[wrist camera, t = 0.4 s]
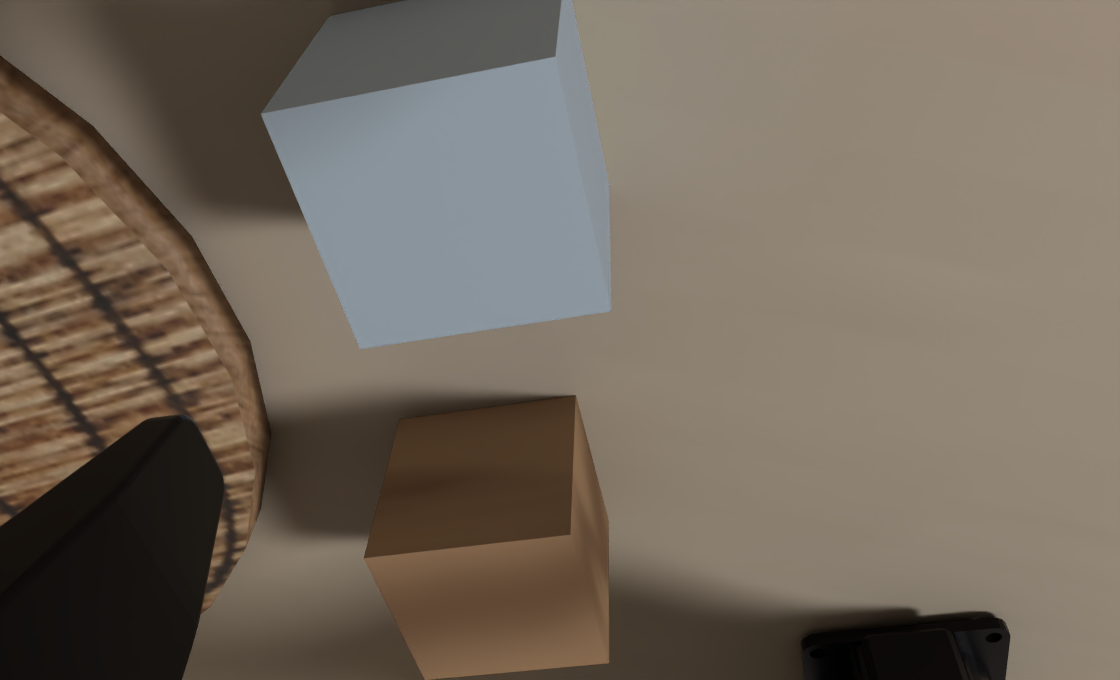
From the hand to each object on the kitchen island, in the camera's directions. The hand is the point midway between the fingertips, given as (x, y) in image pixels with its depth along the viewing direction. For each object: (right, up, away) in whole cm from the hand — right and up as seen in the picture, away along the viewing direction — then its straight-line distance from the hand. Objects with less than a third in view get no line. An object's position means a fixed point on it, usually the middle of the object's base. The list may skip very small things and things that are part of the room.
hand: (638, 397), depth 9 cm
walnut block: (-2, -3, +18) cm, 19 cm away
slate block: (-3, +6, +12) cm, 13 cm away
